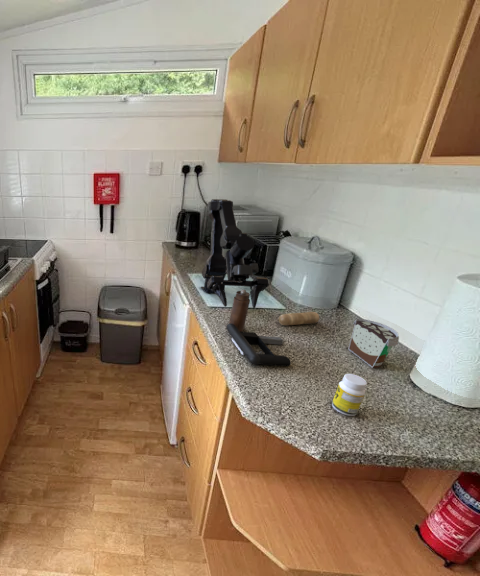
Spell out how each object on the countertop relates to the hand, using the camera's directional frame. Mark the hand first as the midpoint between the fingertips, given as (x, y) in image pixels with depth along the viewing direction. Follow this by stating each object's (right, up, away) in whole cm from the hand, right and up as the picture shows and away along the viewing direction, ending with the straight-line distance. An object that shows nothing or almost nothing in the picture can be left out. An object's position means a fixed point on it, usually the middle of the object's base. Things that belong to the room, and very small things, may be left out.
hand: (240, 307), depth 104 cm
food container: (+32, -14, -13) cm, 37 cm away
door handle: (+2, -12, -8) cm, 15 cm away
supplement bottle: (+9, -22, -31) cm, 39 cm away
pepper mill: (0, -7, +3) cm, 8 cm away
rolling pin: (+23, -6, +7) cm, 25 cm away
